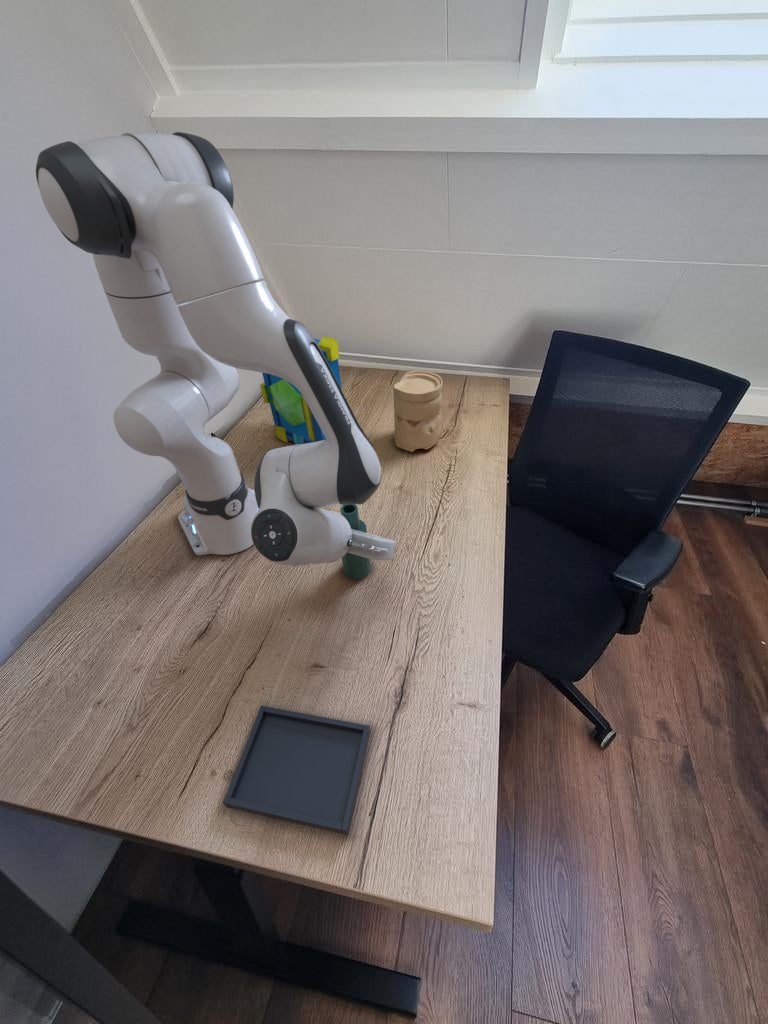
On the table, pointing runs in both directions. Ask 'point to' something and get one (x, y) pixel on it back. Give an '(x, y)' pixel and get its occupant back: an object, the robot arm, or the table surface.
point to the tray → (300, 769)
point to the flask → (353, 563)
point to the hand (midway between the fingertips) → (354, 537)
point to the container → (417, 410)
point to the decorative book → (297, 401)
